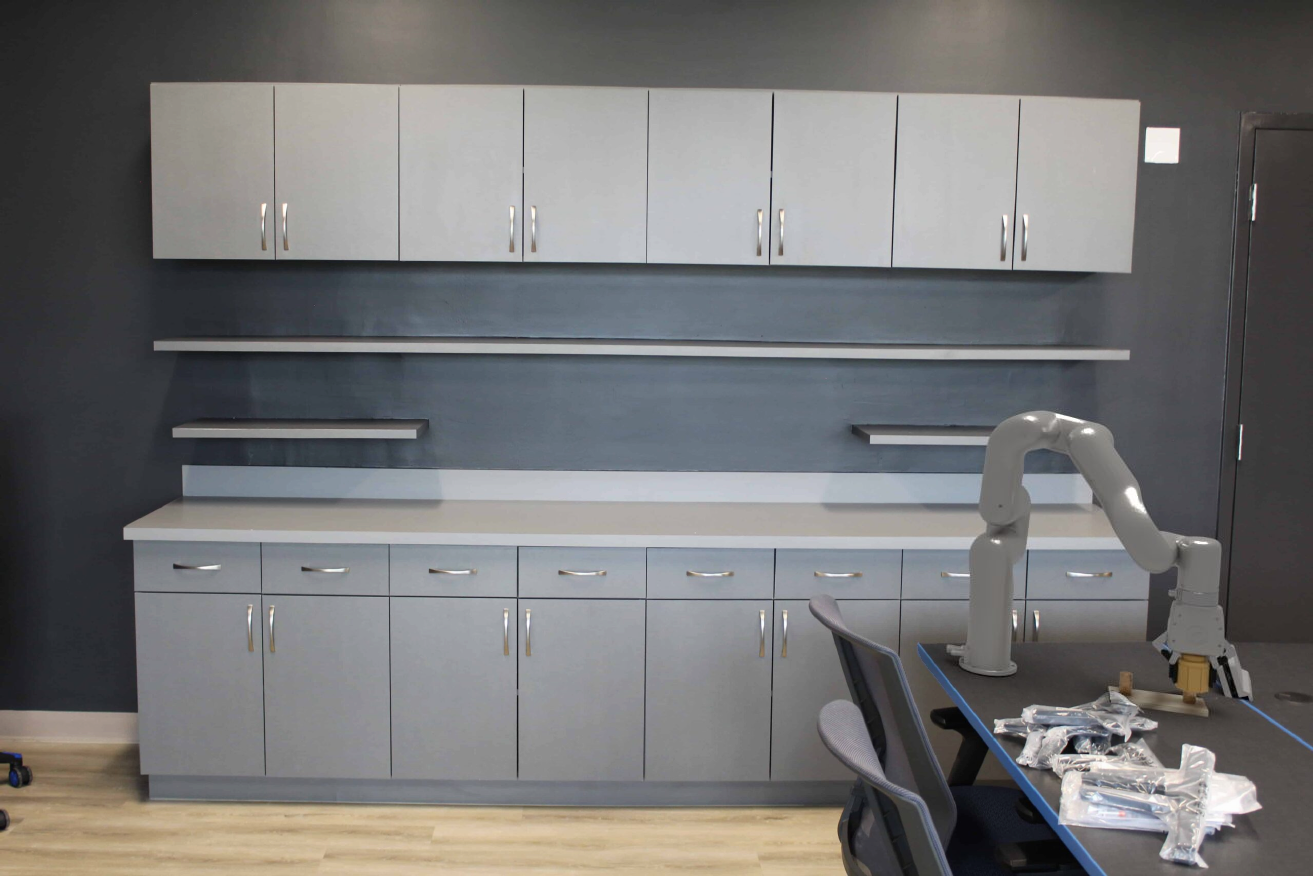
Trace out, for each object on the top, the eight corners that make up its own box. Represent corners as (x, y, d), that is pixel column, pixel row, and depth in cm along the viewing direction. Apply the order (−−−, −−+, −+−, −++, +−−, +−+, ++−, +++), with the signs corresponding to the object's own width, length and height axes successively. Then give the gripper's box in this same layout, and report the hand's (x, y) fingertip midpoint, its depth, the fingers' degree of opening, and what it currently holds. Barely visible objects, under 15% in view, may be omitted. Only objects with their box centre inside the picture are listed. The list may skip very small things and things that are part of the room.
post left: (1119, 695, 209) (1120, 674, 208) (1118, 691, 211) (1119, 670, 210) (1131, 696, 208) (1133, 675, 207) (1130, 693, 210) (1132, 672, 209)
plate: (1110, 703, 207) (1110, 698, 207) (1108, 691, 214) (1108, 686, 214) (1208, 717, 200) (1208, 711, 200) (1202, 704, 208) (1202, 698, 208)
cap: (1177, 690, 203) (1179, 656, 202) (1173, 681, 208) (1175, 648, 208) (1210, 694, 201) (1212, 659, 200) (1205, 685, 206) (1207, 651, 206)
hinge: (1253, 702, 209) (1238, 656, 210) (1228, 706, 211) (1213, 660, 212) (1250, 679, 223) (1236, 635, 224) (1227, 682, 226) (1213, 639, 226)
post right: (1183, 703, 204) (1184, 682, 204) (1181, 699, 206) (1183, 678, 206) (1196, 705, 203) (1198, 684, 203) (1194, 701, 206) (1196, 680, 205)
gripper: (1152, 597, 202) (1147, 683, 204) (1249, 606, 196) (1243, 695, 198) (1148, 589, 209) (1143, 673, 211) (1242, 597, 203) (1236, 683, 205)
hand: (1191, 683), depth 204 cm, fingers closed on cap, 5 cm apart
